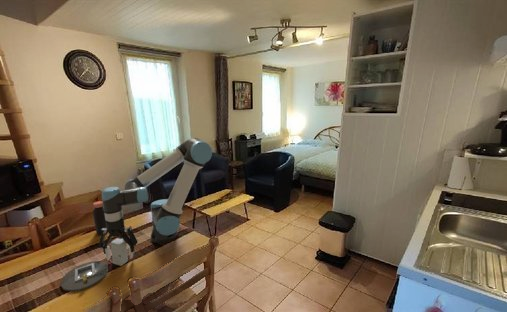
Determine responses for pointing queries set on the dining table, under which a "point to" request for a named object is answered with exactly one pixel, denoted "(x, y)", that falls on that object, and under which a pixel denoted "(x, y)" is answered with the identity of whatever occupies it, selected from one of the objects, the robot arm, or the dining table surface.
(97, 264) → the flange plate
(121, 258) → the skincare box
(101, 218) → the bottle
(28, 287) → the dining table surface
